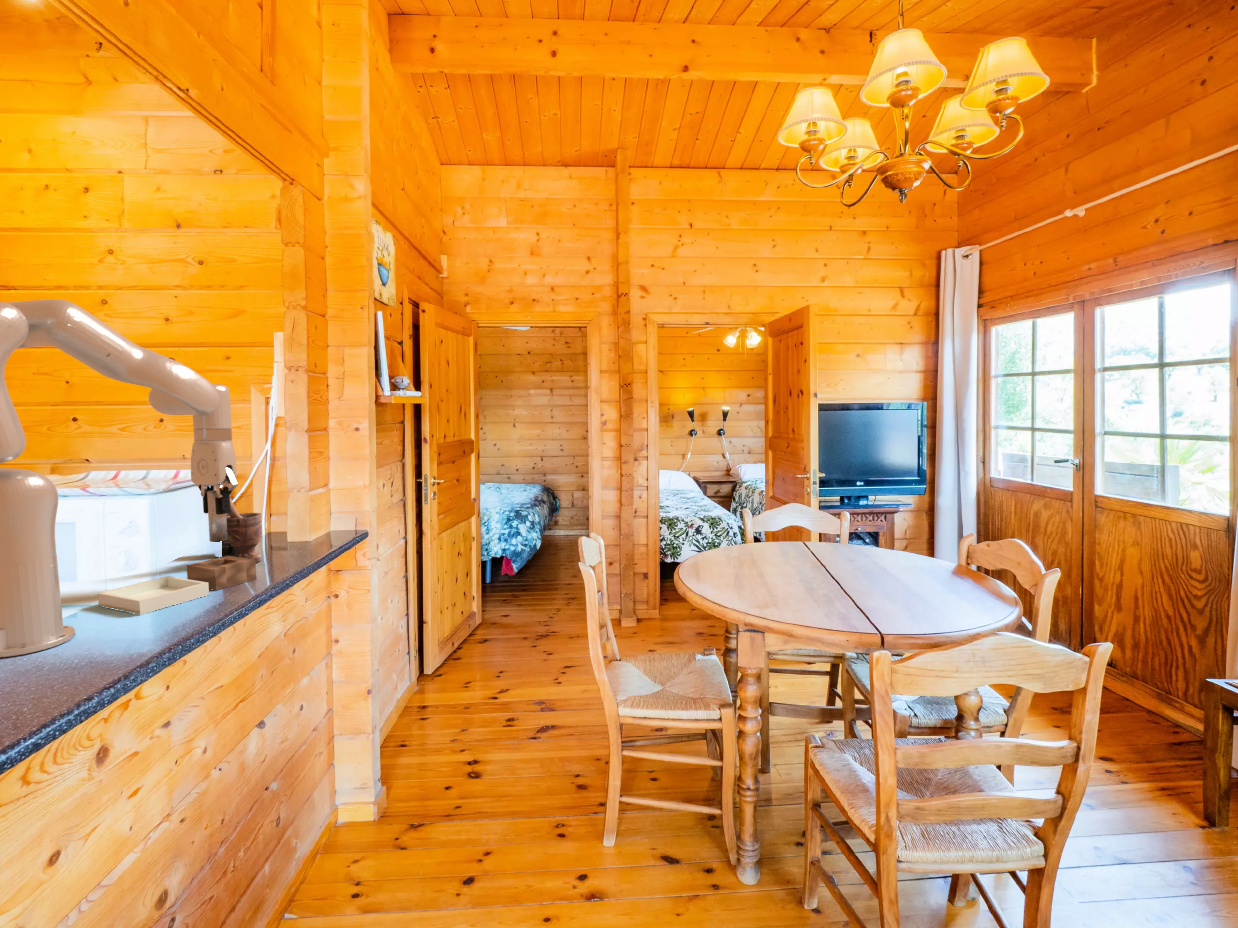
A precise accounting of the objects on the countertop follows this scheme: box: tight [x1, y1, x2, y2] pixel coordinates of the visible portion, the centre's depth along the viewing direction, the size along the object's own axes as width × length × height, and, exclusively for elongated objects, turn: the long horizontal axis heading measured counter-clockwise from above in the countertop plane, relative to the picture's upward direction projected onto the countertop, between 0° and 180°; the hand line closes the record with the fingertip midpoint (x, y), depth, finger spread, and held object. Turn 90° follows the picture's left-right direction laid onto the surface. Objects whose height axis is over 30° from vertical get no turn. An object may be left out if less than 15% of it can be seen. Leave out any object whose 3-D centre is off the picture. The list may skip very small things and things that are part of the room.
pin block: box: [186, 556, 257, 591], centre depth 145 cm, size 10×10×5 cm
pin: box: [207, 490, 228, 543], centre depth 143 cm, size 4×4×12 cm
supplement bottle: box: [222, 513, 236, 557], centre depth 172 cm, size 7×7×12 cm
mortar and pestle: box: [226, 497, 263, 563], centre depth 162 cm, size 12×9×20 cm
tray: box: [97, 575, 210, 616], centre depth 131 cm, size 14×14×3 cm
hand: (217, 512), depth 143 cm, fingers closed on pin, 3 cm apart
